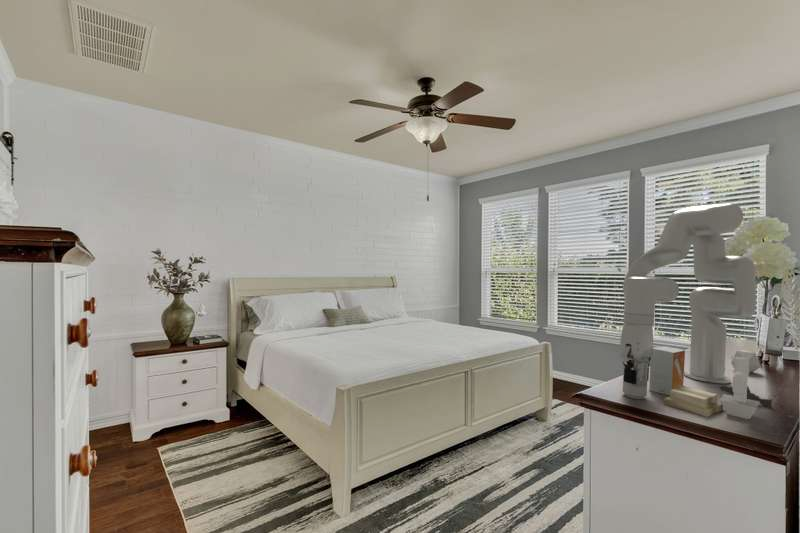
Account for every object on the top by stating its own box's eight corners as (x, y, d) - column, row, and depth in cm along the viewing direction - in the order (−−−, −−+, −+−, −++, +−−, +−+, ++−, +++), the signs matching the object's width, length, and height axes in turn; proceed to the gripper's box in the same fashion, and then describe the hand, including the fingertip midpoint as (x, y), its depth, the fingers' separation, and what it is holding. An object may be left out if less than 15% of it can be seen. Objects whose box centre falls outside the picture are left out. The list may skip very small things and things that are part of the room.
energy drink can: (639, 393, 116) (641, 343, 116) (650, 400, 110) (653, 347, 110) (618, 392, 117) (620, 342, 116) (628, 399, 111) (631, 346, 110)
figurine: (718, 414, 101) (721, 357, 101) (724, 406, 107) (726, 352, 107) (756, 423, 96) (759, 363, 95) (759, 414, 102) (762, 357, 102)
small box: (671, 396, 114) (673, 352, 114) (648, 390, 119) (650, 348, 119) (683, 392, 119) (685, 349, 118) (660, 386, 124) (662, 345, 124)
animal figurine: (770, 410, 109) (775, 393, 109) (769, 414, 106) (774, 397, 106) (718, 391, 118) (723, 376, 117) (716, 394, 115) (721, 379, 114)
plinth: (680, 398, 113) (681, 384, 113) (722, 409, 105) (723, 395, 105) (663, 403, 108) (664, 389, 108) (707, 416, 99) (707, 401, 99)
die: (737, 369, 151) (722, 349, 151) (764, 362, 145) (749, 341, 146) (740, 381, 145) (724, 360, 145) (768, 375, 139) (752, 352, 139)
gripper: (640, 316, 121) (637, 374, 121) (609, 319, 111) (606, 381, 112) (667, 319, 114) (664, 380, 114) (636, 323, 105) (634, 389, 105)
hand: (636, 380), depth 113 cm, fingers closed on energy drink can, 6 cm apart
